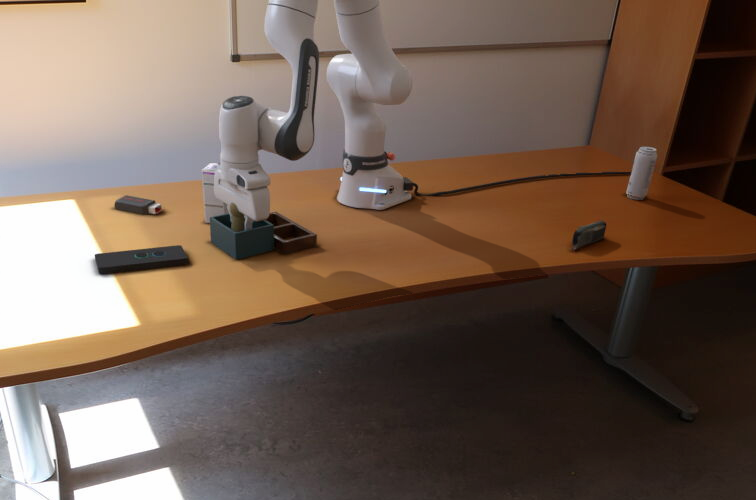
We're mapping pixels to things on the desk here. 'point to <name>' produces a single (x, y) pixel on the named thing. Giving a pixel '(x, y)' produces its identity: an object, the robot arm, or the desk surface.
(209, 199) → the syrup box
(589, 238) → the mobile phone
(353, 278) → the desk surface
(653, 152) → the energy drink can
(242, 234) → the bin
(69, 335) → the desk surface
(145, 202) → the usb drive
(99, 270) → the smart home device
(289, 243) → the holder
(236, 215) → the olive pepper mill
